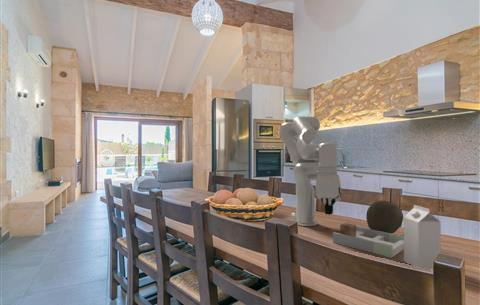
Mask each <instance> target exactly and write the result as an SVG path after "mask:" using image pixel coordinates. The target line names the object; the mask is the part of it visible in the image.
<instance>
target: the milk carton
mask: <svg viewBox="0 0 480 305" xmlns="http://www.w3.org/2000/svg"><path fill="white" fill-rule="evenodd" d="M441 226H442V225H441V221H440V219H438V218H437V217H436V216H434V215H433V214H432V213H431V209H430V208H428V207H427V208H426V207H424V206H421V205H416V204H413V208H411V209H410V211H409V212H407V213H406V214H405V215H403V236H404V249H403V259H404V260H403V262H404V263H406V264H408V265H409V264H411V265H415V266H418V267H421V268H427V269H432V263H433V260H434V259H435V257H436V256H437V255H438V254H441V255H442V251H441V250H442V242H441V241H442V237H441V236H442V234H441V231H442V229H441V228H442V227H441ZM411 265H410V266H411Z"/></svg>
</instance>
